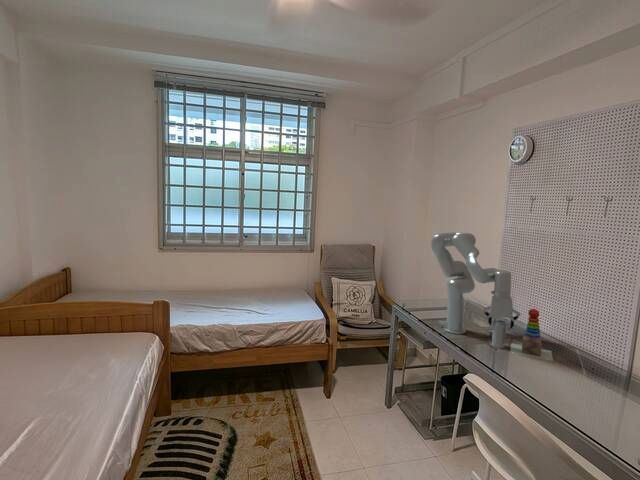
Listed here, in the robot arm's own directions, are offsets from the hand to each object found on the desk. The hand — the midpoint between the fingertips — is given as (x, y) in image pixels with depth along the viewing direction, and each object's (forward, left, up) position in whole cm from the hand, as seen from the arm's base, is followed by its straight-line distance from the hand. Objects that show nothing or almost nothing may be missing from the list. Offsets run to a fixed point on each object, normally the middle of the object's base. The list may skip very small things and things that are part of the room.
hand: (500, 326), depth 178 cm
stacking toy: (+15, +19, -12) cm, 28 cm away
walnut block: (+14, +1, -11) cm, 18 cm away
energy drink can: (-1, 0, -12) cm, 12 cm away
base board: (+14, +1, -12) cm, 19 cm away
